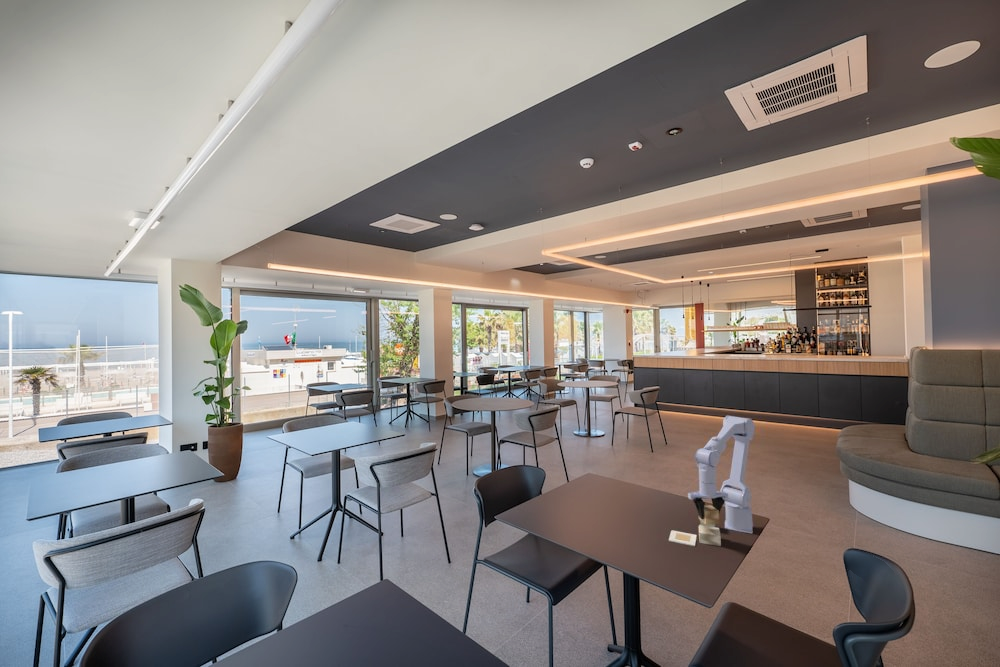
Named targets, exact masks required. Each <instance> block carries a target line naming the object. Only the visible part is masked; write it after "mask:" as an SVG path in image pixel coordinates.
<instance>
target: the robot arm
mask: <svg viewBox="0 0 1000 667" xmlns="http://www.w3.org/2000/svg"><path fill="white" fill-rule="evenodd" d="M755 426H756V425H755V423H754V421H753V419H752V418H749V417H747V418H746V417H739V416H733V415H729V414H728V415H726V416H725V417H724V418H723V420H722V428H721V429H720V430H719V432H718V434H717V436H713V437H711V438H710V439H709V440H708V442H707V443H706V444H705V446H704V447H703V448H702V447H701V448H699V449H697V450H696V452H695V456H694V459H695V462H696V467H697V468H698V480H699V481H698V484H699V487H698V488H699V490H698V491H692V492H688V493H687V498H688V499H689V500H690V501H692V502H693V503H694V504H695V505H694V506H695V507H696V509H697V513H698V518H699V517H700V518H701V519H704V506H706V505H705V504H706V502H705V501H704V499H706V500H707V499H711V503H712V505H711V506H713V507H714V508H716V509H717V510H718V511H719V514H720V513H721V510H722V508H723V506H724V504H725V520H724V529H725V530H730V531H736V532H740V533H746V534H753V532H754V530H753V528H754V521H753V511H752V509H753V508H752V506H750V505H751V501H752V494H751V488H750V486H748V485H747V483H746V482H745V476H746V469H747V463H748V462H747V461H748V454H749V450H750V449H749V447H750V441H752V440H754V436H755ZM731 438H733V439H734V446H733V454H732V460H731V461H732V462H731V467H730V474H729V478H728V479H726V480H724V481H723V482H722V485H721V488H720V490H717V472H716V471H717V470H716V468H717V466H718V465H719V461H720V458H721V455H722V453H723V452H724V451H725V449H726V448H727V444H726V443H727V441H728V440H730V439H731Z"/></svg>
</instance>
